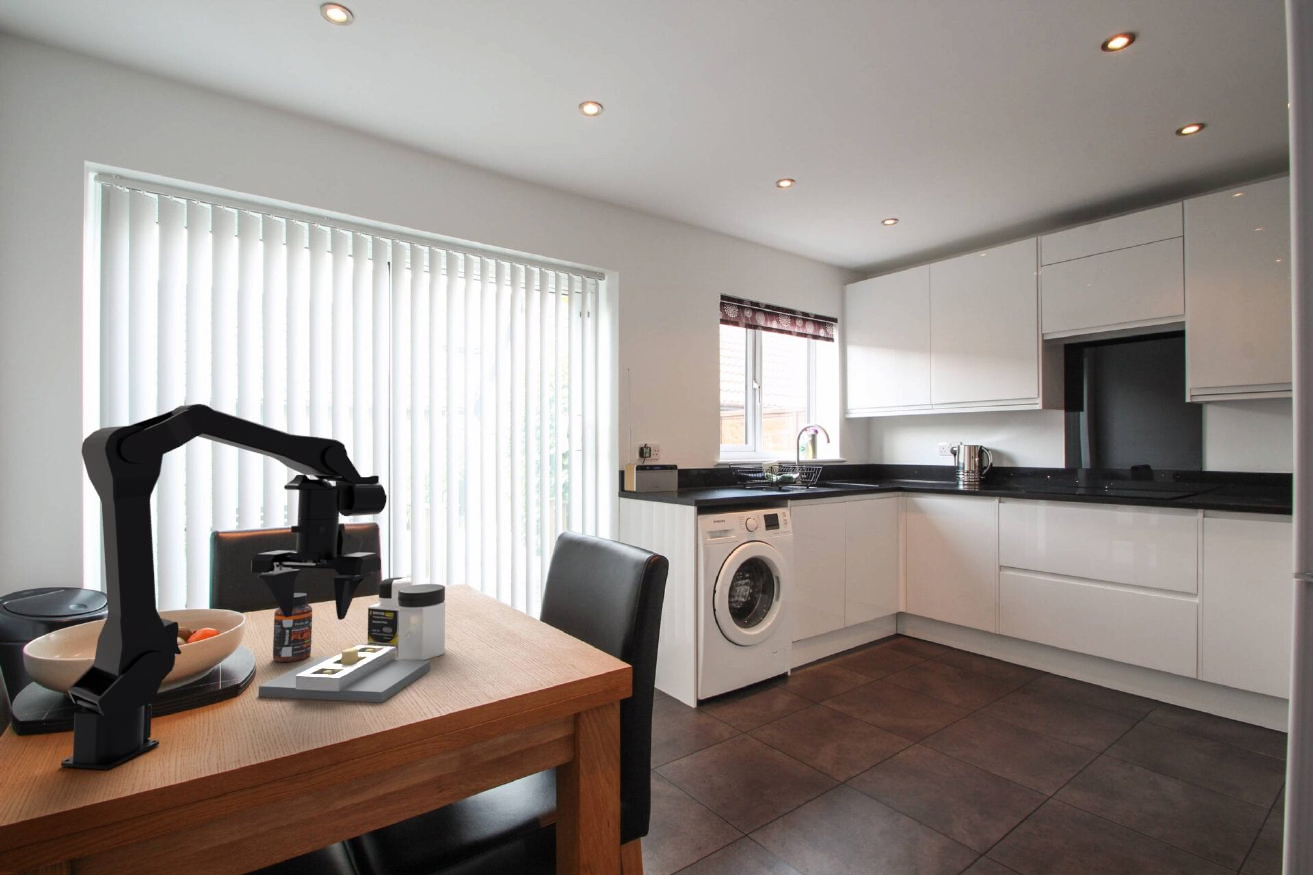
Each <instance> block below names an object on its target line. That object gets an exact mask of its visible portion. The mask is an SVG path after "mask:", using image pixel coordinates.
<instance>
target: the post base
mask: <svg viewBox="0 0 1313 875" xmlns="http://www.w3.org/2000/svg"><path fill="white" fill-rule="evenodd" d="M366 652H369V653H373V649H367V650H366ZM340 654H341V664H347V665H354V664H356V663H358V649H356V648H354V647H352V648H351V647H350V648H346V649H344V650H341V652H340ZM333 657H334V656H319V657H317V658H316V659H313V660H312V661H309V662H307V663H305V664H303V665H301V666H299V667H296V668H294V669H292V670H290V671H288V672H286V673H284V674H282V675H279V676H277V677H275V678H272V679H271V680H269V681H266V682H265V683H262V684H260V685H259V686H258V697H266V698H270V697H271V698H284V699H285V698H286V699H303V700H304V699H306V700H324V701H325V700H326V701H327V700H328V701H329V700H330V701H345V702H347V701H348V702H364V703H365V702H366V703H368V702H369V703H384V702H385V701H386V700H389V698H391V697H392V696H393V695H395V694H396V693H398V692H400V691H401V690H403V689H404V688H406V687H407V686H409V685H410V684H412V683H413V682H414V681H416V680H418V679H419V678H420V677H422V676H423V675H425V674H426V673H428V672H429V671H430V670H431V660H423V661H421V660H399V659H397V658H396V659H394V660H393V661H391V662H389V663H387V664H386V665H384V666H382V667H380V668H379V669H377V670H375V671H373V672H372V673H370V674H368V675H367V676H365V677H363V678H361V679H360V680H358V681H356V682H354V683H353V684H351V685H349V686H347V687H346V688H344V689H342V690H340V691H321V690H301V689H296V675H298V674H300V673H302V672H304V671H306V670H308V669H311V668H313V667H315V666H317V665H319V664H321V663H323V662H325V661H327V660H329V659H331V658H333ZM323 675H332V670H326V671H324V672H323ZM405 686H406V687H405ZM402 688H403V689H402ZM383 701H384V702H383Z"/></svg>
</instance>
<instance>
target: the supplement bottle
mask: <svg viewBox="0 0 1313 875" xmlns="http://www.w3.org/2000/svg"><path fill="white" fill-rule="evenodd" d="M307 597H308V594H307V593H306V592H305V593H304V592H294V605H293V612H292V616H291V617H284V615H283V613H282V611H281V609H280V607H279V606H278V608H276V609H275V610H274V617H273V639H272V640H273V642H272V660H274V661H276V662H279V663H290V662H297V661H301V660H304V659H306V658H308V657H309V656H311V655H312V654H311V652H312V633H313V631H312V630H313V608H312V606H311V605H310V604H309V603H308V602H307V601H308V598H307Z"/></svg>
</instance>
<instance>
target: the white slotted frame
mask: <svg viewBox="0 0 1313 875" xmlns="http://www.w3.org/2000/svg"><path fill="white" fill-rule="evenodd" d="M353 648H356V649H358V663H356V664H354V665H347V664H341V653H340V654H338V655H336V656H332V657H333V658H331V659H329V660H327V661H325V662H323V663H321V664H319V665H317V666H315V667H313V668H311V669H308V670H306V671H304V672H302V673H300V674H298V675H296V689H301V690H321V691H340V690H342V689H344V688H346V687H347V686H349V685H351V684H353V683H354V682H356V681H358V680H360V679H361V678H363V677H365V676H367V675H368V674H370V673H372V672H373V671H375V670H377V669H379V668H380V667H382V666H384V665H386V664H387V663H389V662H391V661H393V660H394V659H396V660H397V646H391V645H389V646H388V645H386V646H385V645H384V646H383V645H363V644H362V645H356V646H354V647H353ZM367 649H373V653H369V652H366V650H367ZM326 670H332V675H323V672H324V671H326Z"/></svg>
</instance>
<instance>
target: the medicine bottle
mask: <svg viewBox="0 0 1313 875" xmlns="http://www.w3.org/2000/svg"><path fill="white" fill-rule="evenodd" d="M412 583H413V582H412V579H410V578H407V577H403V576H402V577H401V576H398V577H390V578H386V579H383V580H381V581H380V582H379V583H378V602H379V603H375V604H371V605H369V606H368V607H367V643H368V644H369V643H370V644H378V645H386V646H388V645H389V646H398V590H399V589H401V588H403V587H407V586H412V585H413V584H412Z"/></svg>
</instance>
